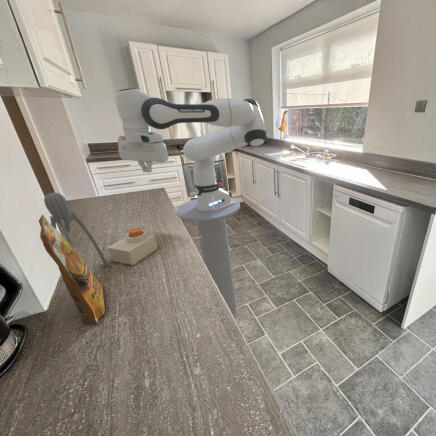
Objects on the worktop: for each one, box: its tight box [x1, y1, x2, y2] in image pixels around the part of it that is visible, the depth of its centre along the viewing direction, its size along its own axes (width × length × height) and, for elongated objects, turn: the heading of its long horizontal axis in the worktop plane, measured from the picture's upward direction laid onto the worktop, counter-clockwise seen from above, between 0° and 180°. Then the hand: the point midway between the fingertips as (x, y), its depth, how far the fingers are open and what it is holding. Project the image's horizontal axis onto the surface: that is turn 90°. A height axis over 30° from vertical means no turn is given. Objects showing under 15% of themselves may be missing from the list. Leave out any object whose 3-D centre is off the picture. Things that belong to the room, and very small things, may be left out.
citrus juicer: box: [43, 192, 108, 268], centre depth 75 cm, size 11×10×30 cm
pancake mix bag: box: [38, 214, 106, 324], centre depth 64 cm, size 7×19×28 cm, turn 38°
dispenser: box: [106, 229, 158, 266], centre depth 93 cm, size 12×10×8 cm
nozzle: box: [127, 227, 143, 237], centre depth 93 cm, size 4×4×2 cm
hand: (147, 172), depth 97 cm, fingers closed
